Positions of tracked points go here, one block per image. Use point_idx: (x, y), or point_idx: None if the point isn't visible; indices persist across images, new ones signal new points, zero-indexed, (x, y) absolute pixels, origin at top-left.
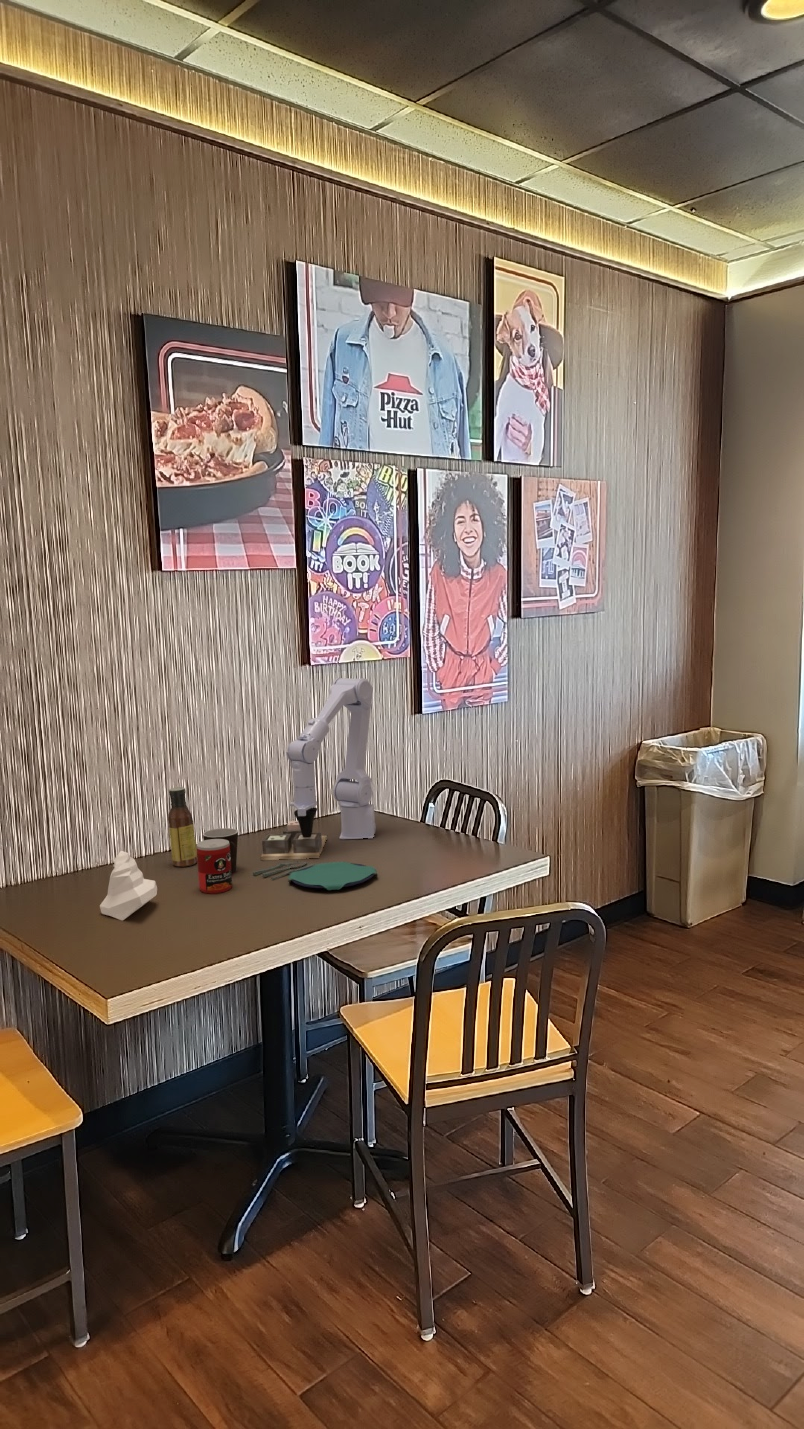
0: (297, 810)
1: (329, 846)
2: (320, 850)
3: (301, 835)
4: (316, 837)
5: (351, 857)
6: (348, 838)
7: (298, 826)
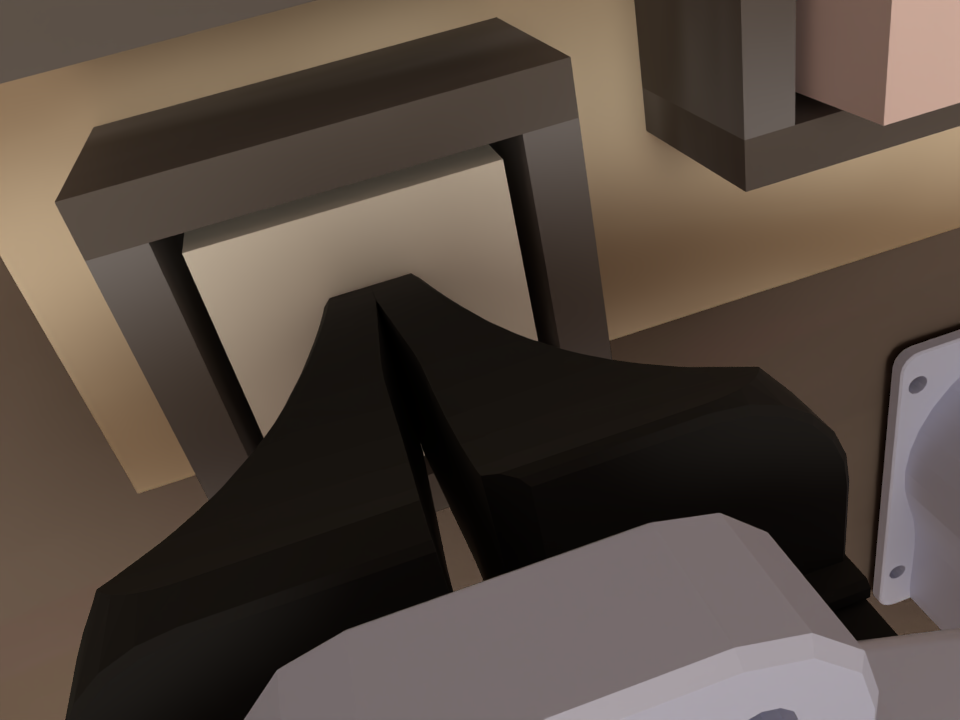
0: (623, 508)
1: (658, 353)
2: None
3: (461, 207)
4: None
5: None
6: (890, 433)
7: (867, 3)
